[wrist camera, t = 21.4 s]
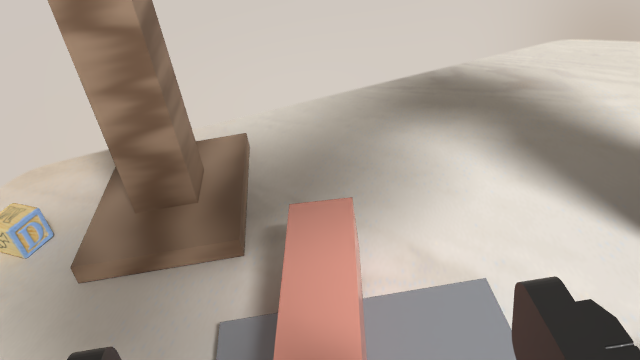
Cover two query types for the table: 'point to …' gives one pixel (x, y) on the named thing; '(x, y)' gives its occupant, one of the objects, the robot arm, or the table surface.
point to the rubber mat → (401, 327)
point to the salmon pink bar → (321, 285)
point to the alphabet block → (22, 230)
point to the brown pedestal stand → (150, 150)
